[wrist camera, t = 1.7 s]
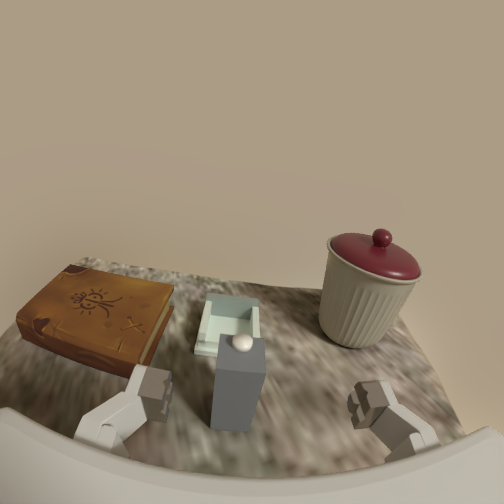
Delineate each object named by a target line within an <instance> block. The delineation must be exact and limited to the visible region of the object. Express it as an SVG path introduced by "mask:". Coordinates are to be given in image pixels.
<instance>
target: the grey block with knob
mask: <svg viewBox="0 0 504 504" xmlns="http://www.w3.org/2000/svg"><path fill="white" fill-rule="evenodd" d="M265 376H266V362H265V347H264V338H255V337H250V336H249V335H247V334H243V333H240V334H236V335H229V334H221V333H220V338H219V346H218V354H217V362H216V371H215V381H214V391H213V402H212V414H211V426H210V429H216V430H225V431H236V432H248V431H249V428H250V425H251V422H252V418H253V415H254V412H255V409H256V406H257V402H258V399H259V396H260V393H261V389H262V386H263V383H264V379H265Z"/></svg>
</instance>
